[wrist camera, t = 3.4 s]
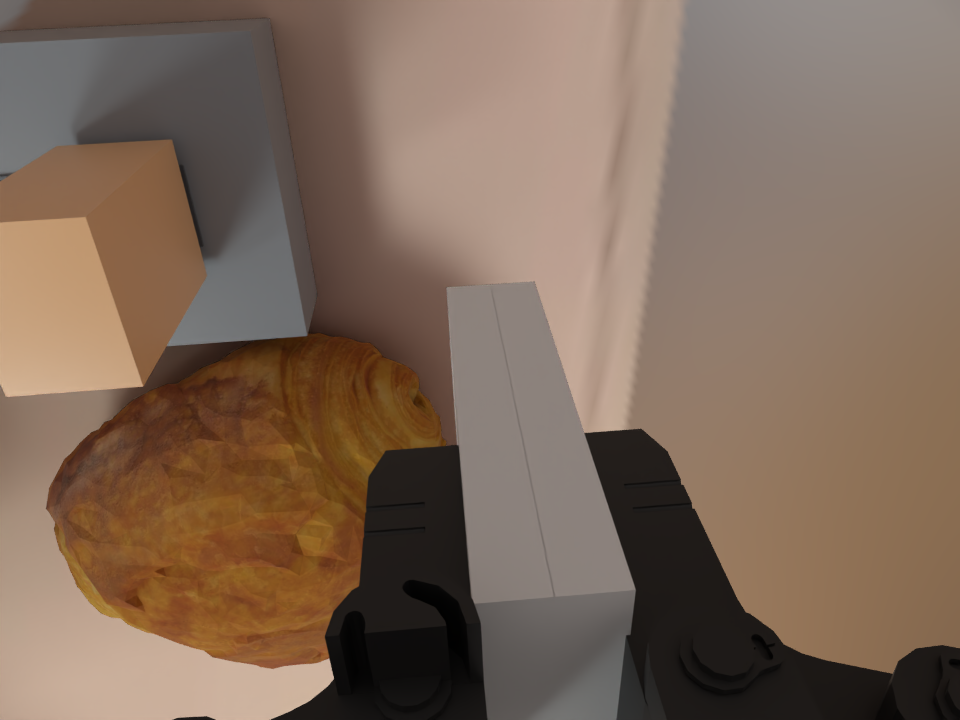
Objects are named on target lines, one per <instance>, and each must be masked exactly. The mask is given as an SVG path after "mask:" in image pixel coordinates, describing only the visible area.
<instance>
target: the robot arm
mask: <svg viewBox="0 0 960 720" xmlns="http://www.w3.org/2000/svg"><path fill="white" fill-rule="evenodd" d="M446 289H447V304H448V319H449V334H450V350H451V365H452V380H453V395H454V410H455V424H456V437H457V445H452V446H438V447H425V448H412V449H399V450H386V451H385V453H384V454H383V456H382V457H381V459H380V460H379V462H378V463H377V465H376V466H375V468H374V469H373V471H372V472H371V474H370V475H369V477H368V487H367V499H366V512H365V522H364V538H363V546H362V557H361V569H360V581H359V586H358V587H357V588H355V589H353V590H352V591H351V592H350V593H349V594H348V595H347V596H346V598H345V599H344V600H343V601H342V602H341V603H340V604H339V606H338V607H337V608H336V609H335V610H334V611H333V614H332V617H331V620H330V622H329V625H328V628H327V631H326V634H325V641H326V645H327V650H328V654H329V658H330V663H331V667H332V671H333V676H334V680H333V681H332V682H331V683H330V685H329V686H328V687H327V688H325V689H324V690H323V691H322V692H320V693H319V694H318V695H317V696H316V697H314V698H313V699H312V700H311V701H309V702H307V703H305V704H303V705H301V706H300V707H298V708H296V709H294V710H292V711H290V712H288V713H286V714H283V715H281V716H278V717H276V718H273V719H271V720H960V648H955V647H949V646H944V645H940V646H932V647H925V648H917V649H915V650H914V651H912V652H911V653H909V654H908V655H906V656H905V657H904V658H902V659H901V660H899V661H898V663H897V666H896V668H895V670H894V672H893V674H890V673H886V672H880V671H876V670H870V669H866V668H860V667H856V666H850V665H846V664H841V663H836V662H831V661H826V660H822V659H819V658H816V657H812V656H809V655H805V654H802V653H800V652H798V651H796V650H794V649H792V648H790V647H788V646H786V645H784V644H783V643H782V642H781V640H780V639H779V638H778V636H777V635H776V634H775V633H774V631H773V630H771V629H770V628H769V627H767V626H766V625H764V624H763V623H762V622H760V621H759V620H758V619H756V618H755V617H754V616H752V615H751V614H749V613H746V612H745V611H744V609H743V607H742V606H741V604H740V602H739V601H738V599H737V597H736V595H735V593H734V591H733V589H732V587H731V585H730V583H729V580H728V578H727V576H726V574H725V572H724V570H723V568H722V566H721V563H720V561H719V559H718V557H717V555H716V553H715V551H714V549H713V547H712V545H711V542H710V541H709V538H708V536H707V534H706V532H705V530H704V528H703V525H702V524H701V521H700V519H699V517H698V515H697V513H696V511H695V509H692V502H691V500H690V498H689V496H688V494H687V492H686V490H685V487H684V485H681V479H680V477H679V475H678V473H677V471H676V468H675V466H674V464H673V462H672V460H671V458H670V456H669V454H668V452H667V451H666V450H665V449H664V448H663V447H662V446H660V445H659V444H658V443H657V442H656V441H655V440H654V439H653V438H651V437H650V436H649V435H648V434H647V433H646V432H644V431H643V430H642V429H633V430H620V431H606V432H593V433H584V431H583V428H582V425H581V422H580V419H579V416H578V412H577V409H576V406H575V403H574V400H573V397H572V394H571V391H570V388H569V385H568V382H567V379H566V376H565V373H564V370H563V367H562V364H561V361H560V358H559V355H558V352H557V348H556V345H555V342H554V339H553V336H552V333H551V330H550V327H549V324H548V321H547V318H546V315H545V312H544V309H543V306H542V303H541V300H540V297H539V294H538V291H537V288H536V284H535V282H520V283H505V284H489V285H474V286H458V287H446ZM174 720H215V719H212V718H210V717H207V716H204V717H186V718H176V719H174Z"/></svg>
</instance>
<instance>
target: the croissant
mask: <svg viewBox="0 0 960 720" xmlns="http://www.w3.org/2000/svg"><path fill="white" fill-rule="evenodd" d="M418 389H419V378H418V376H417V374H416V373H415V372H414V371H412V370H411V369H410V368H408V367H406V366H405V365H403V364H400V363H398V362H395V361H393V360H390V359H387V358H384V357H383V356H382V355H381V353H380V352H379V351H378V350H377V349H376V348H375V347H374V346H373V345H372V344H371V343H363V342H357V341H355V340H352V339H349V338H345V337H330V336H327V335H324V334H321V333H315V334H309V333H308V335H307V336H301V337H288V338H276V339H274V340H256V341H254V342H252V343H250V344H248V345H246V346H244V347H241V348H239V349H237V350H235V351H233V352H232V353H230V354H229V355H227V356H226V357H225V358H223V359H222V360H220V361H218V362H215V363H213V364H210V365H208V366H205V367H203V368H200V369H199V370H198V371H197V372H195V373H194V374H193V375H191V376H190V377H188V378H186V379H184V380H181V381H180V382H179V383H177V384H166V385H163V386H161V387H158V388H156V389H153V390H150V391H149V392H147V393H146V394H144V395H142V396H140V397H138V398H136V399H134V400H133V401H131V402H130V403H129V404H128V405H127V406H126V407H125V408H124V409H122V410H121V411H120V412H119V413H118V414H117V415H116V416H115V417H114V418H113V419H112V420H109V421H107V422H104V424H103V425H102V426H101V427H100V429H99V430H96V431H94V432H91V433H90V434H89V435H88V436H87V437H86V438H85V439H84V440H83V441H82V442H80V443H79V445H78V446H77V447H76V448H75V450H74V451H73V452H72V453H71V454H70V455H69V456H68V457H67V458H65V459H64V461H63V463H62V465H61V467H60V469H59V471H58V473H57V475H56V476H55V478H54V480H53V482H52V484H51V486H50V488H49V494H48V500H47V507H46V509H47V510H48V511H49V513H50V514H51V516H52V518H53V520H54V521H55V527H54V531H55V535H56V539H57V542H58V546H59V550H60V551H61V553H62V554H63V555H64V557H65V559H66V561H67V563H68V566H69V568H70V571H71V573H72V575H73V577H74V579H75V582H76V585H77V587H78V588H79V589H80V590H81V591H82V593H83V594H84V595H85V597H86V598H87V599H88V601H89V602H90V603H91V604H92V605H93V606H94V607H95V608H96V609H97V610H98V611H99V612H100V613H102V614H104V615H107V616H109V617H113V618H121V619H122V620H123V621H125V622H126V623H127V624H128V625H130V626H133V627H135V628H137V629H140V630H142V631H144V632H147V633H153V634H156V635H159V636H161V637H164V638H166V639H169V640H172V641H174V642H177V643H180V644H183V645H186V646H189V647H192V648H196V649H200V650H204V651H205V652H207V653H208V654H209V655H211V656H212V657H215V658H219V659H224V660H229V661H234V662H240V663H247V664H253V665H258V666H260V667H265V668H271V669H274V668H278V667H282V666H288V665H298V664H312V663H318V662H321V661H323V660H326V659H328V658H329V654H328V650H327V645H326V641H325V634H326V631H327V628H328V625H329V622H330V620H331V617H332V614H333V611H334V610H335V609H336V608H337V607H338V606H339V604H340V603H341V602H342V601H343V600H344V599H345V598H346V596H347V595H348V594H349V593H350V592H351V591H352V590H353V589H355V588H357V587H358V586H359V581H360V569H361V557H362V546H363V538H364V522H365V512H366V499H367V487H368V477H369V475H370V474H371V472H372V471H373V469H374V468H375V466H376V465H377V463H378V462H379V460H380V459H381V457H382V456H383V454H384V453H385V451H386V450H399V449H412V448H425V447H438V446H446V441H445V440H444V439H442V436H441V423H440V417H439V416H438V415H437V414H436V413H435V411H434V409H433V407H432V405H431V403H430V401H429V400H428V399H427V398H426V397H425V396H424V395H423V394H422V393H421V392H420V391H418Z"/></svg>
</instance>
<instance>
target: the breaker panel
mask: <svg viewBox="0 0 960 720" xmlns="http://www.w3.org/2000/svg"><path fill="white" fill-rule="evenodd" d="M170 139H172V141H173V145H174V149H175V153H176V157H177V161H178V165H179V169H180V172H181V176H182V180H183V184H184V188H185V192H186V196H187V200H188V203H189V207H190V211H191V215H192V219H193V223H194V227H195V231H196V234H197V238H198V242H199V246H200V250H201V254H202V258H203V261H204V265H205V269H206V273H207V277H206V279H205V280H204V282H203V284H202V286H201V287H200V289H199V291H198V293H197V294H196V296H195V298H194V299H193V301H192V303H191V305H190V306H189V308H188V310H187V312H186V313H185V315H184V317H183V319H182V320H181V322H180V324H179V325H178V327H177V329H176V331H175V332H174V334H173V336H172V338H171V339H170V341H169V343H168V345H167V346H178V345H192V344H205V343H219V342H233V341H246V340H260V339H274V338H288V337H301V336H307V335H308V331H309V327H310V323H311V319H312V315H313V311H314V307H315V303H316V299H317V290H316V284H315V278H314V272H313V267H312V261H311V255H310V249H309V243H308V238H307V232H306V226H305V220H304V214H303V209H302V203H301V197H300V191H299V185H298V180H297V174H296V168H295V162H294V156H293V151H292V145H291V139H290V133H289V127H288V122H287V116H286V110H285V104H284V99H283V93H282V87H281V81H280V75H279V70H278V64H277V58H276V52H275V46H274V41H273V35H272V29H271V23H270V18H260V19H239V20H219V21H199V22H178V23H158V24H137V25H117V26H97V27H76V28H56V29H35V30H15V31H0V181H2V180H3V179H5V178H7V177H8V176H10V175H11V174H13V173H15V172H16V171H18V170H19V169H21V168H23V167H24V166H26V165H27V164H29V163H31V162H32V161H34V160H35V159H37V158H39V157H40V156H42V155H43V154H45V153H47V152H48V151H50V150H51V149H53V148H55V147H56V146H66V145H83V144H100V143H118V142H135V141H152V140H170Z"/></svg>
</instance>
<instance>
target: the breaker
mask: <svg viewBox="0 0 960 720" xmlns="http://www.w3.org/2000/svg"><path fill="white" fill-rule="evenodd" d="M206 277H207V273H206V269H205V265H204V261H203V258H202V254H201V250H200V246H199V242H198V238H197V234H196V231H195V227H194V223H193V219H192V215H191V211H190V207H189V203H188V200H187V196H186V192H185V188H184V184H183V180H182V176H181V172H180V169H179V165H178V161H177V157H176V153H175V149H174V145H173V141H172V139H170V140H152V141H135V142H118V143H100V144H83V145H66V146H56V147H55V148H53V149H51V150H50V151H48V152H47V153H45V154H43V155H42V156H40V157H39V158H37V159H35V160H34V161H32V162H31V163H29V164H27V165H26V166H24V167H23V168H21V169H19V170H18V171H16V172H15V173H13V174H11V175H10V176H8V177H7V178H5V179H3V180H2V181H0V385H1V387H2V389H3V391H4V393H5V396H6V397H13V396H26V395H39V394H52V393H66V392H79V391H92V390H105V389H118V388H132V387H143V386H144V384H145V383H146V381H147V379H148V377H149V376H150V374H151V372H152V371H153V369H154V367H155V365H156V364H157V362H158V360H159V358H160V357H161V355H162V353H163V351H164V350H165V348H166V346H167V345H168V343H169V341H170V339H171V338H172V336H173V334H174V332H175V331H176V329H177V327H178V325H179V324H180V322H181V320H182V319H183V317H184V315H185V313H186V312H187V310H188V308H189V306H190V305H191V303H192V301H193V299H194V298H195V296H196V294H197V293H198V291H199V289H200V287H201V286H202V284H203V282H204V280H205V279H206Z"/></svg>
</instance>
